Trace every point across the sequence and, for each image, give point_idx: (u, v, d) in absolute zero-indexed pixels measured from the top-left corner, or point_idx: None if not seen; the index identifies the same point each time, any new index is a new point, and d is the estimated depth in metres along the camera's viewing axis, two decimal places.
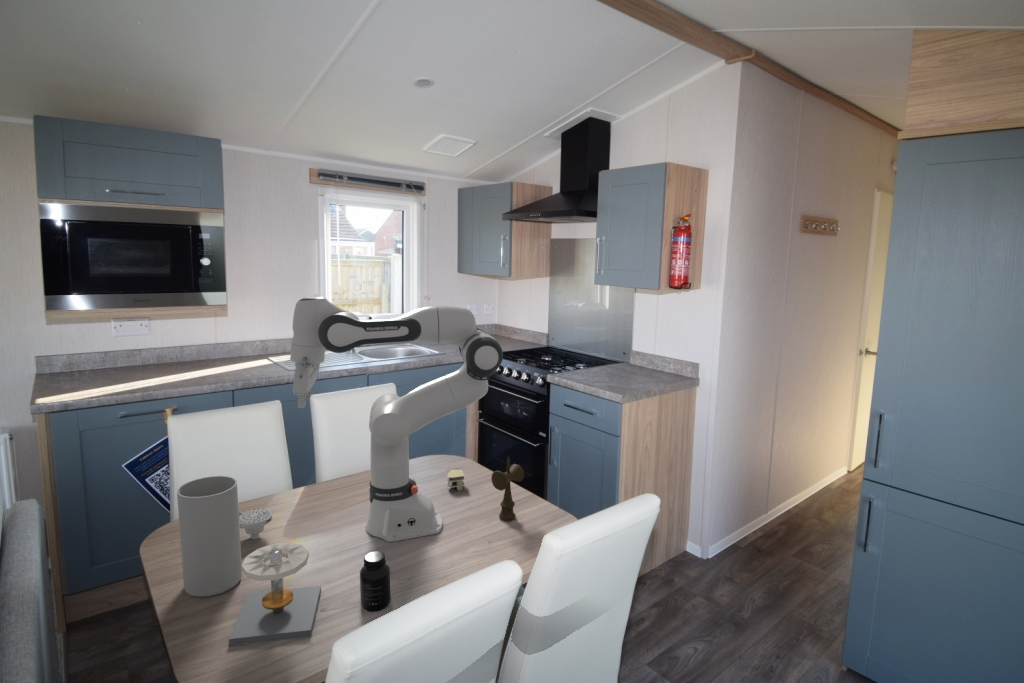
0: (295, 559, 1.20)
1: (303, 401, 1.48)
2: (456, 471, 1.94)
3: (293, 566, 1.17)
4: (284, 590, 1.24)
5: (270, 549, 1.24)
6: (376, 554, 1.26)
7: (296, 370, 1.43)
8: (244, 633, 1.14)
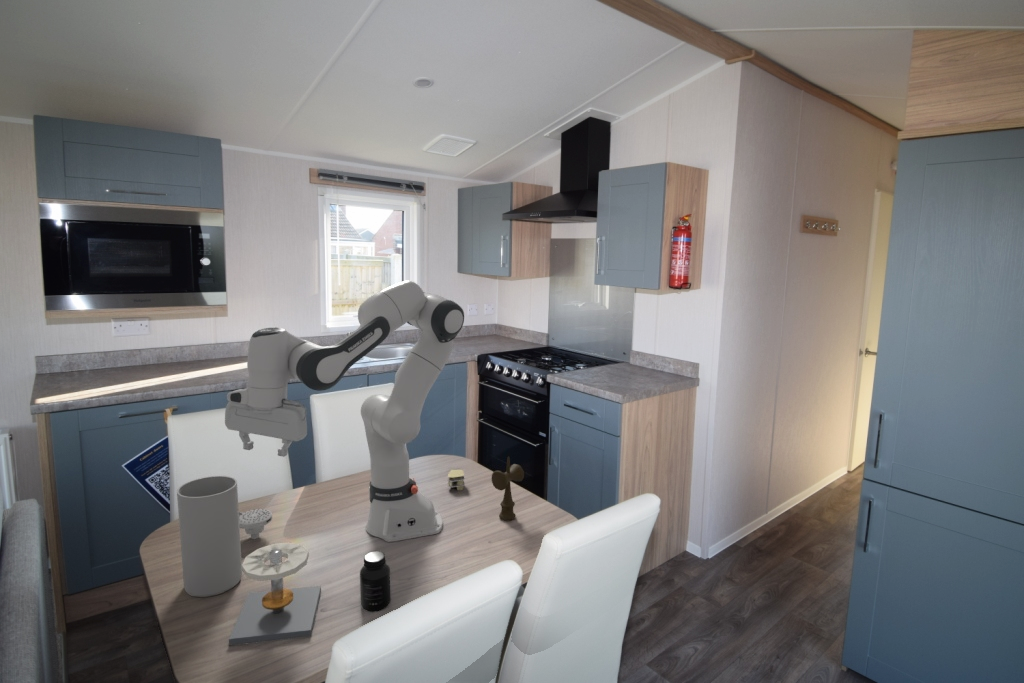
0: (295, 559, 1.20)
1: (287, 447, 1.30)
2: (456, 471, 1.94)
3: (293, 566, 1.17)
4: (284, 590, 1.24)
5: (270, 549, 1.24)
6: (376, 554, 1.26)
7: (297, 414, 1.27)
8: (244, 633, 1.14)
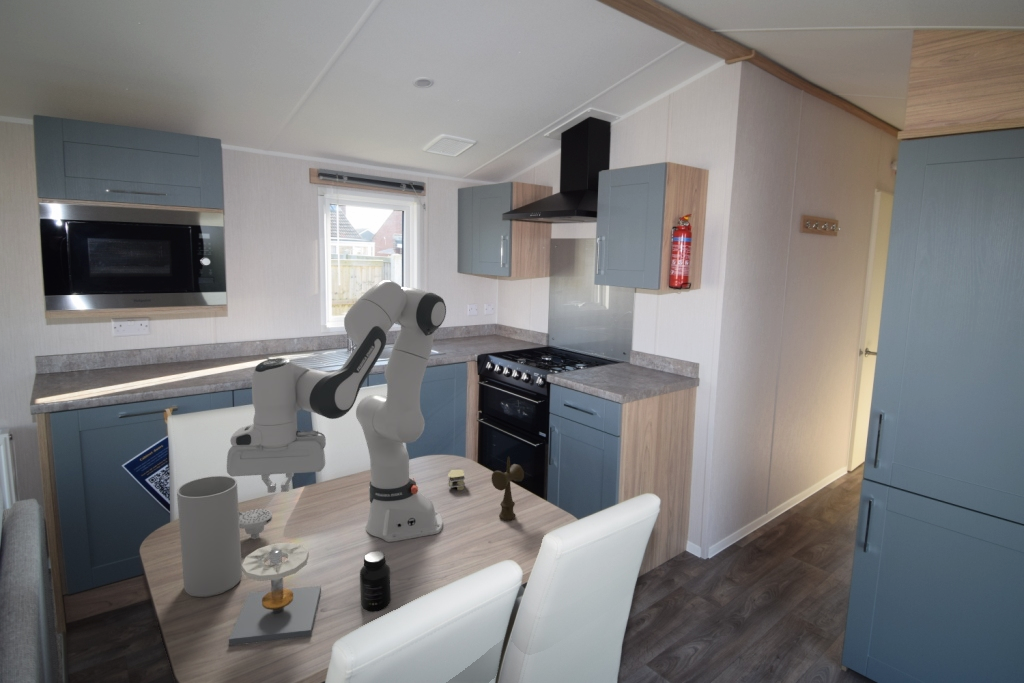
0: (295, 559, 1.20)
1: None
2: (457, 471, 1.94)
3: (293, 566, 1.17)
4: (284, 590, 1.24)
5: (270, 549, 1.24)
6: (376, 554, 1.26)
7: (318, 443, 1.22)
8: (244, 633, 1.14)
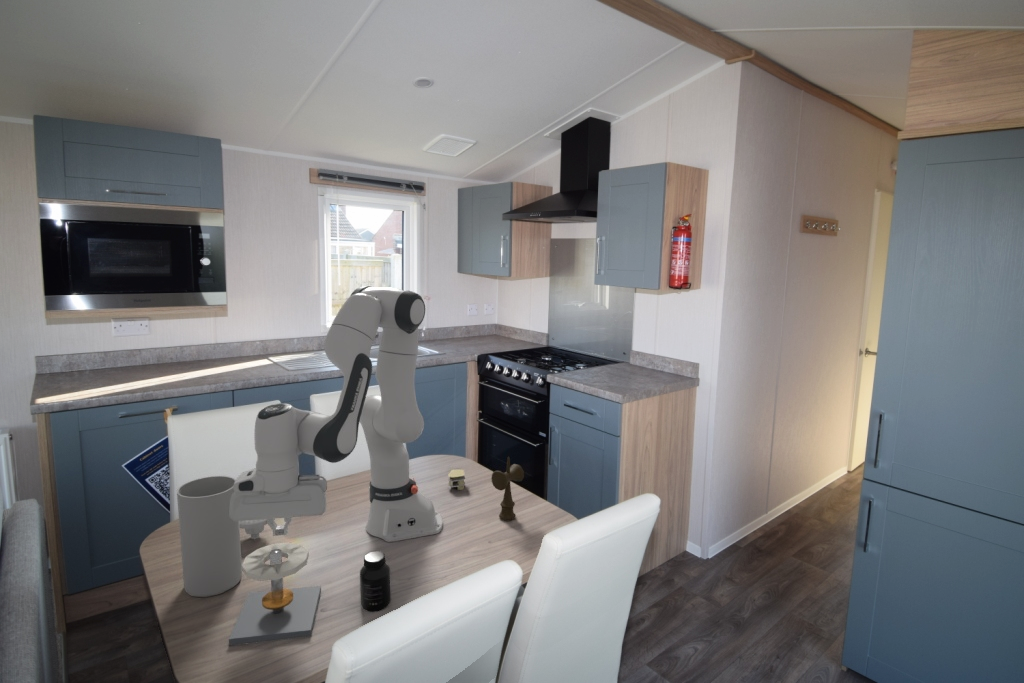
0: (295, 559, 1.20)
1: None
2: (457, 471, 1.94)
3: (293, 566, 1.17)
4: (284, 590, 1.24)
5: (270, 549, 1.24)
6: (376, 554, 1.26)
7: (320, 488, 1.24)
8: (244, 633, 1.14)
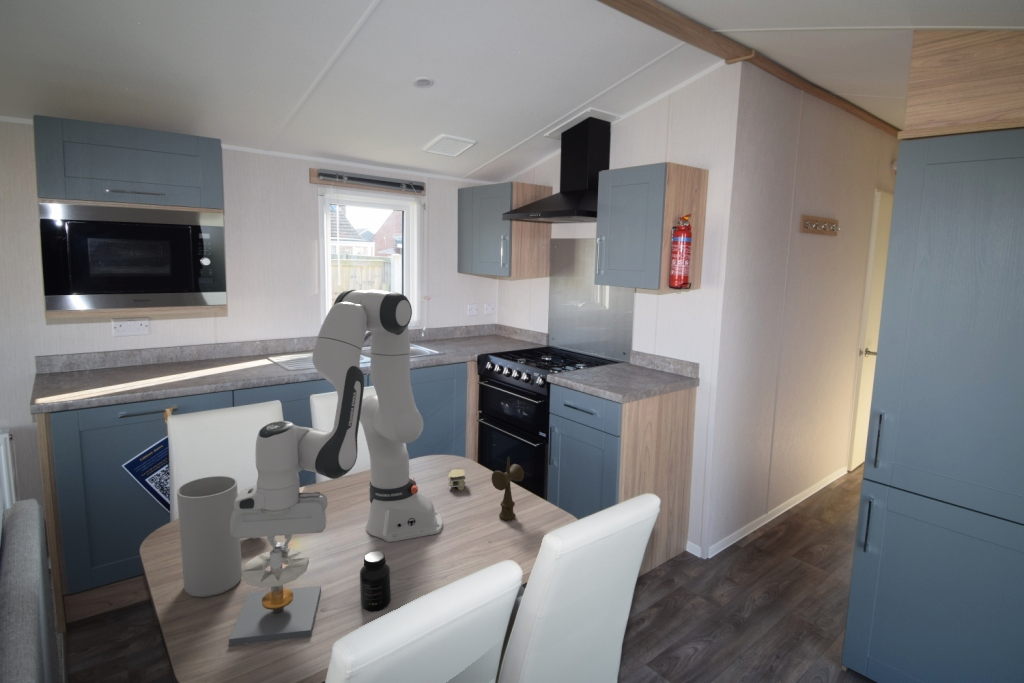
0: (295, 565, 1.20)
1: None
2: (457, 471, 1.94)
3: (293, 573, 1.17)
4: (284, 590, 1.24)
5: None
6: (376, 554, 1.26)
7: (320, 505, 1.25)
8: (244, 633, 1.14)
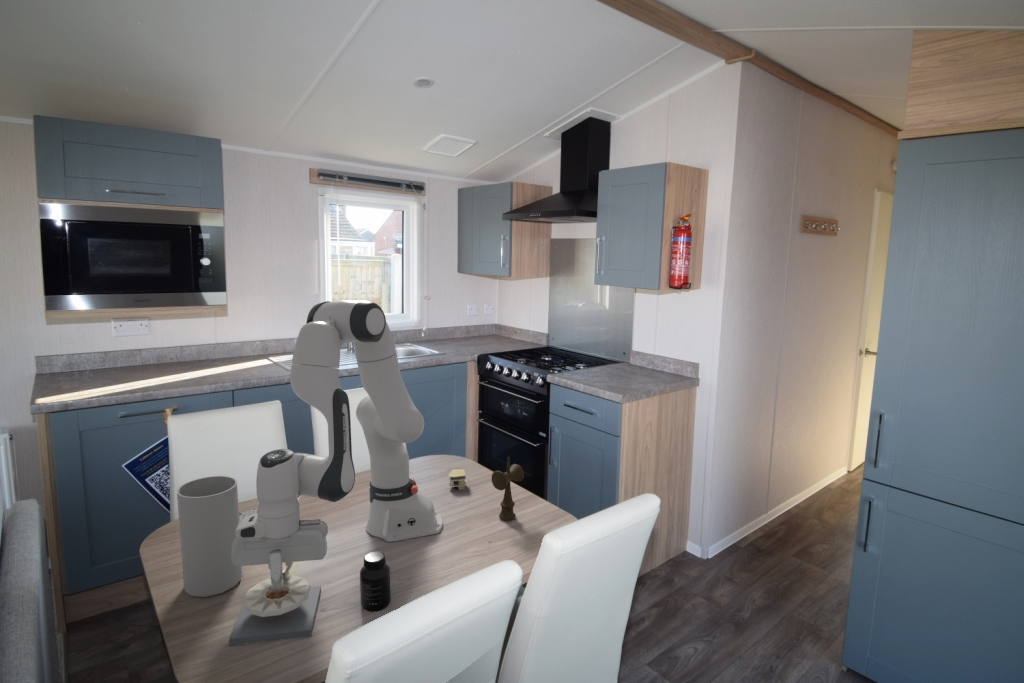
0: (296, 593, 1.21)
1: None
2: (458, 470, 1.94)
3: (294, 601, 1.18)
4: None
5: None
6: (376, 554, 1.26)
7: (321, 532, 1.26)
8: (244, 633, 1.14)
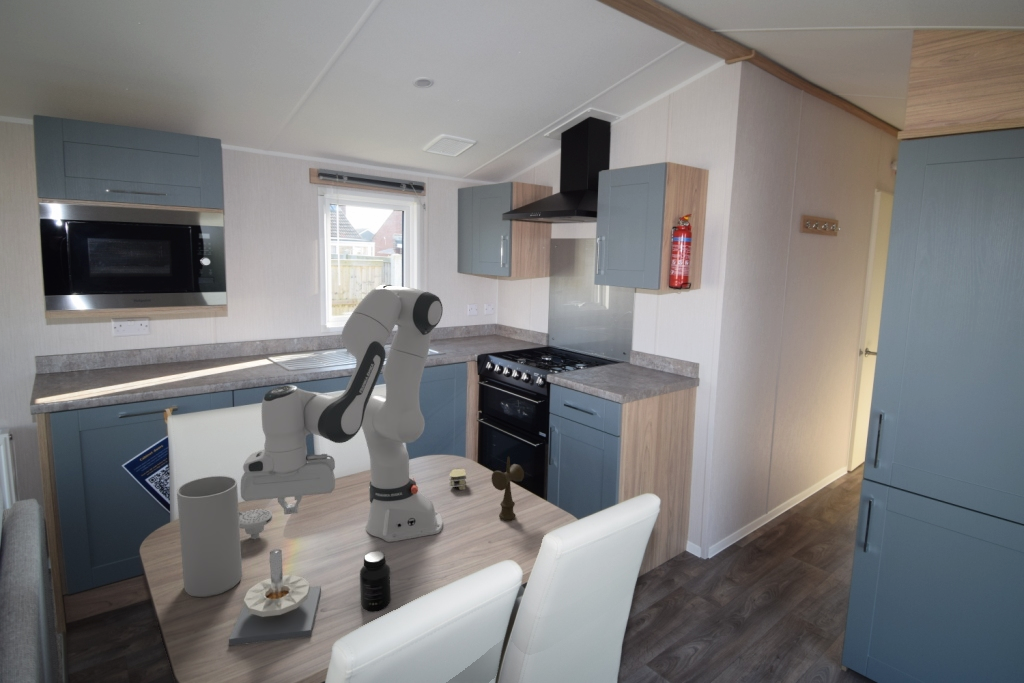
0: (296, 593, 1.21)
1: None
2: (458, 470, 1.94)
3: (294, 601, 1.18)
4: (284, 590, 1.24)
5: None
6: (376, 554, 1.26)
7: (328, 466, 1.26)
8: (244, 633, 1.14)
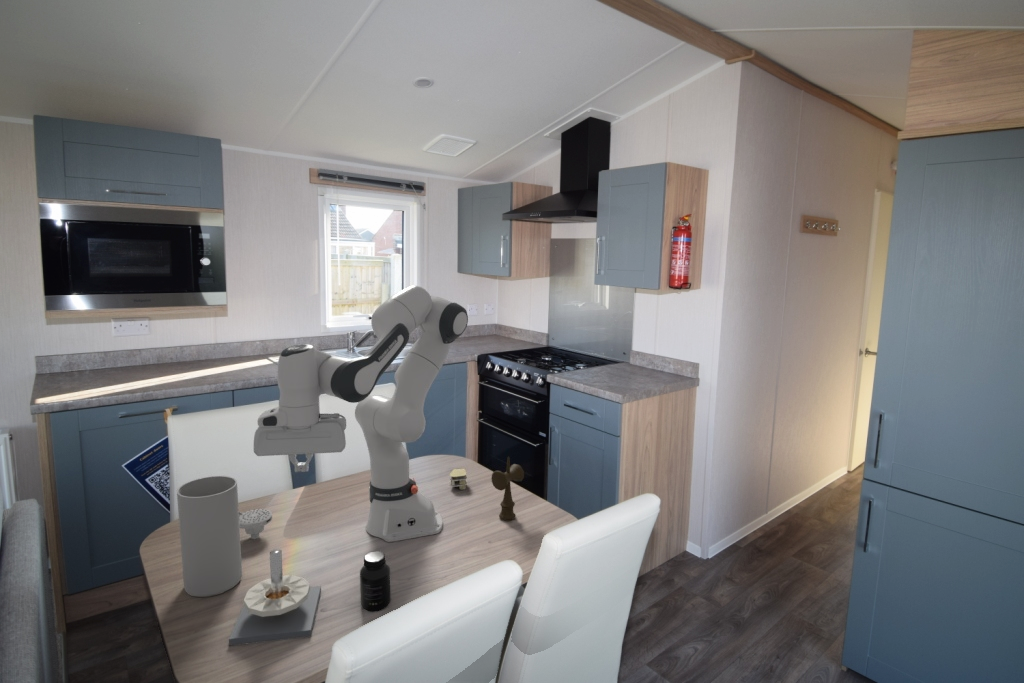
0: (296, 593, 1.21)
1: None
2: (459, 470, 1.94)
3: (294, 601, 1.18)
4: (284, 590, 1.24)
5: None
6: (376, 554, 1.26)
7: (340, 425, 1.29)
8: (244, 633, 1.14)
